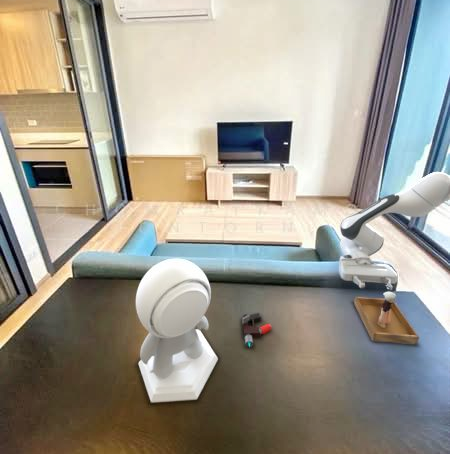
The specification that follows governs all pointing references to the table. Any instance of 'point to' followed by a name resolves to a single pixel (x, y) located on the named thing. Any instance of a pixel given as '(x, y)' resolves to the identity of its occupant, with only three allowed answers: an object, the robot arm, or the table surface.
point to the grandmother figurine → (386, 309)
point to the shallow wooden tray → (394, 331)
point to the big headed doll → (174, 331)
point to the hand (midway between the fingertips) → (376, 287)
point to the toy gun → (253, 328)
